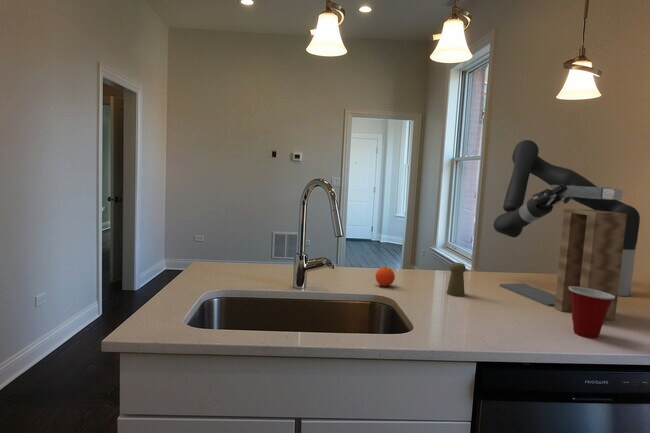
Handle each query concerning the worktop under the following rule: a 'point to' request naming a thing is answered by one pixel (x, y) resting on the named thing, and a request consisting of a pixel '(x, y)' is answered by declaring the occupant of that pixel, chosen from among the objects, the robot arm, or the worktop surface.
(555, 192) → the robot arm
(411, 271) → the worktop surface
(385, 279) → the clementine
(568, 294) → the walnut shelf
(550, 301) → the rubber mat
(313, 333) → the worktop surface
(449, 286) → the cork
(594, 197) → the grey bar
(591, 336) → the plastic cup
